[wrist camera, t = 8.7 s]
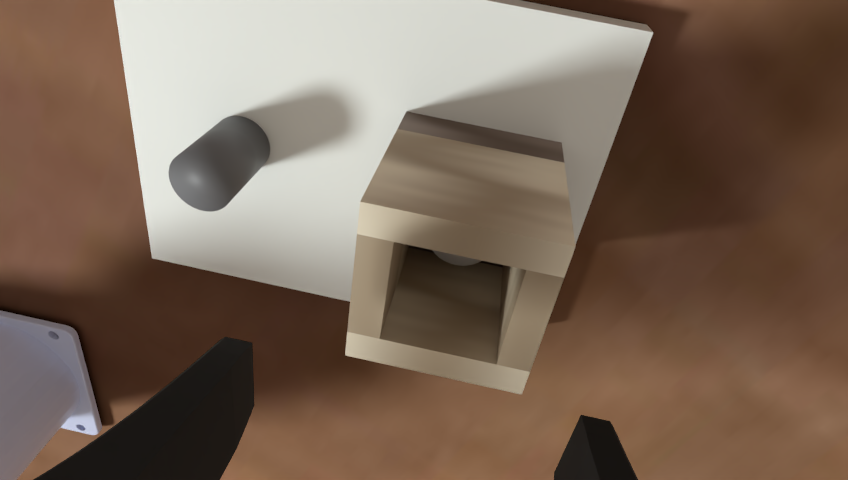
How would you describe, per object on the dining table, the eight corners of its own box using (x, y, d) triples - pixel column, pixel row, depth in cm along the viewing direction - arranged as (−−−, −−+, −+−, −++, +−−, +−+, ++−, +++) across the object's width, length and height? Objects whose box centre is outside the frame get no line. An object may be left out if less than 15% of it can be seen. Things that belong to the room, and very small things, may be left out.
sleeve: (388, 240, 21) (345, 355, 16) (406, 111, 18) (359, 201, 13) (522, 268, 20) (521, 394, 15) (561, 142, 18) (575, 246, 13)
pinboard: (165, 244, 24) (106, 304, 20) (123, -76, 17) (26, -65, 14) (538, 326, 23) (540, 402, 20) (647, 24, 16) (677, 62, 13)
